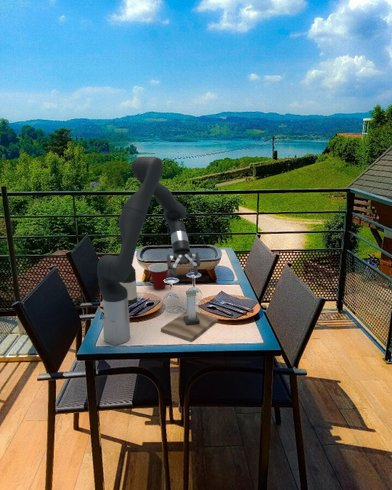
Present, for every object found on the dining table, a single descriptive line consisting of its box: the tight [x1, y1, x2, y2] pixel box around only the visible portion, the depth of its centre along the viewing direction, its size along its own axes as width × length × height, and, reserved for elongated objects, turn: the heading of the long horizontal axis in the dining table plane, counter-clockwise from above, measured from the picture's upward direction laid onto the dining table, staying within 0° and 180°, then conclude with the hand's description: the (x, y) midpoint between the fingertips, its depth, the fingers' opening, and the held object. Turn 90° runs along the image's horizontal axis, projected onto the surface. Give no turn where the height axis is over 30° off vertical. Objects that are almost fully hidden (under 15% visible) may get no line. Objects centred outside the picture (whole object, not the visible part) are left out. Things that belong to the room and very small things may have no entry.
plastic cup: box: [147, 262, 169, 291], centre depth 189 cm, size 11×11×12 cm
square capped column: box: [183, 289, 200, 326], centre depth 149 cm, size 6×6×13 cm
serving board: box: [160, 310, 219, 343], centre depth 149 cm, size 20×15×2 cm
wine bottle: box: [119, 265, 138, 305], centre depth 167 cm, size 8×8×30 cm
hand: (186, 276), depth 155 cm, fingers open, 8 cm apart
